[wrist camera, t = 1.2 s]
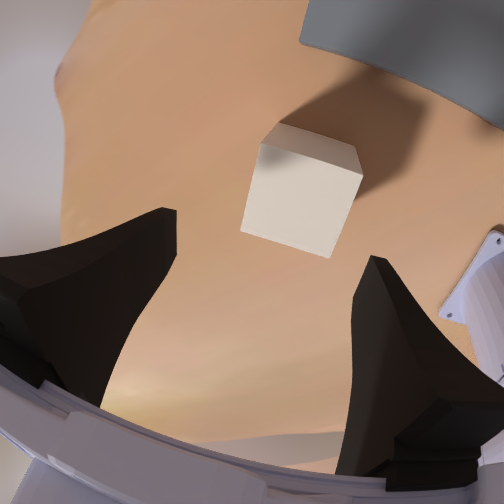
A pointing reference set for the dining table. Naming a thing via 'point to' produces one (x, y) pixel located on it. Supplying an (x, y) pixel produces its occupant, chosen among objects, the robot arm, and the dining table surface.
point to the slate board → (421, 44)
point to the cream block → (302, 189)
